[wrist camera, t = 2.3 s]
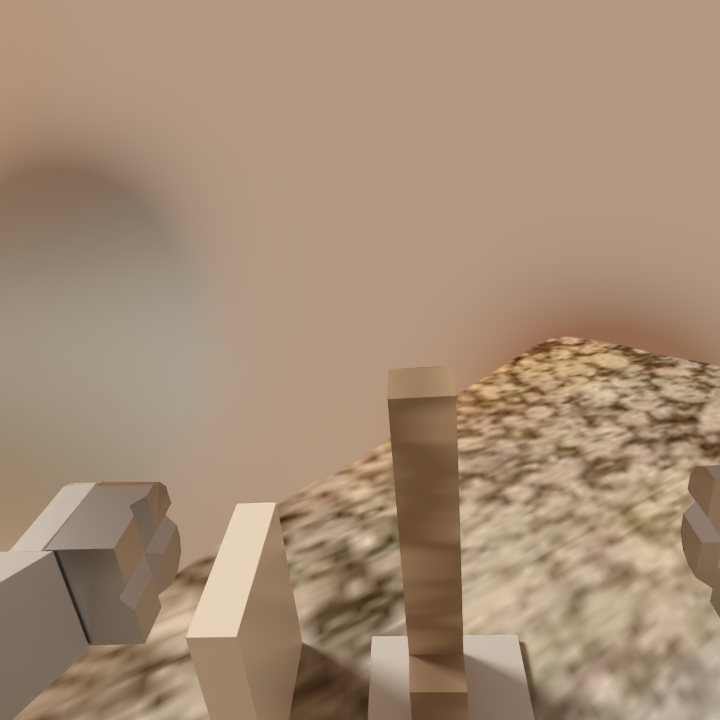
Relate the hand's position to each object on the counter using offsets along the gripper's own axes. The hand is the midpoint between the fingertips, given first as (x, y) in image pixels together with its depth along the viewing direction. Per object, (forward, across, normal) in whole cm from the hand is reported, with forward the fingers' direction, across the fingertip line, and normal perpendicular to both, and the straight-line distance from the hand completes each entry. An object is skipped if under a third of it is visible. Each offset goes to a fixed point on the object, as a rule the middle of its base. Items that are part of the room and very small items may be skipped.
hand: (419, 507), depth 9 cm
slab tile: (+12, +8, +23) cm, 27 cm away
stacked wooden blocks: (+12, 0, +22) cm, 25 cm away
